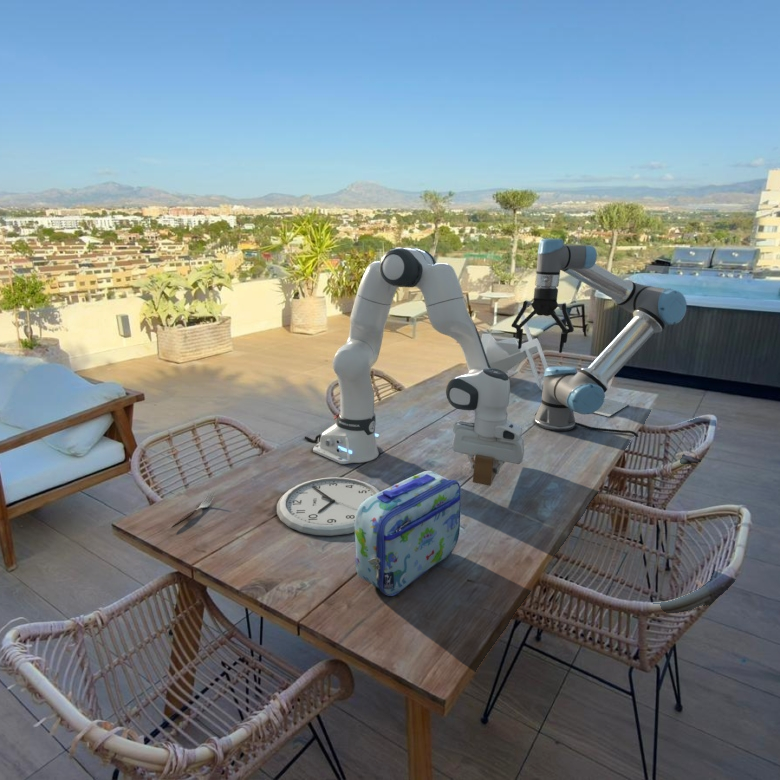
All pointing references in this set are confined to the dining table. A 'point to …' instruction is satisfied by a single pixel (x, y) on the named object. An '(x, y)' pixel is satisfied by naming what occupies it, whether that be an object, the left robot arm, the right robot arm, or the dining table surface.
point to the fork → (203, 505)
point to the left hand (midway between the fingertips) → (485, 470)
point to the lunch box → (406, 530)
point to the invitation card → (610, 408)
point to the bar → (484, 469)
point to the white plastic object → (512, 352)
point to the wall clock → (324, 505)
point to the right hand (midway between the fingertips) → (539, 350)
